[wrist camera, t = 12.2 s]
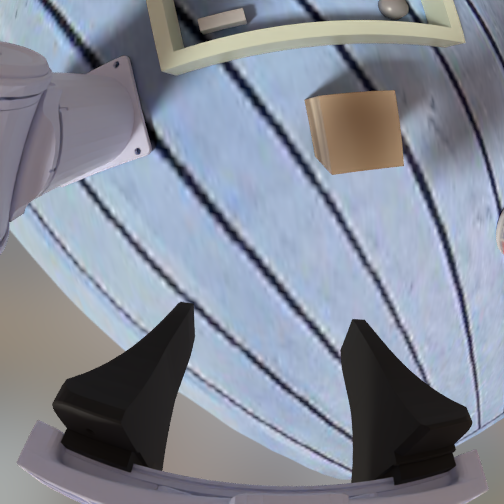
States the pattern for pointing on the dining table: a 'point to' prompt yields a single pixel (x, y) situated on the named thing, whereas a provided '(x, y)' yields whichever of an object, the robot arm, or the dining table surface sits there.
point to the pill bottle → (500, 233)
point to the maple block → (356, 131)
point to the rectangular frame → (296, 33)
